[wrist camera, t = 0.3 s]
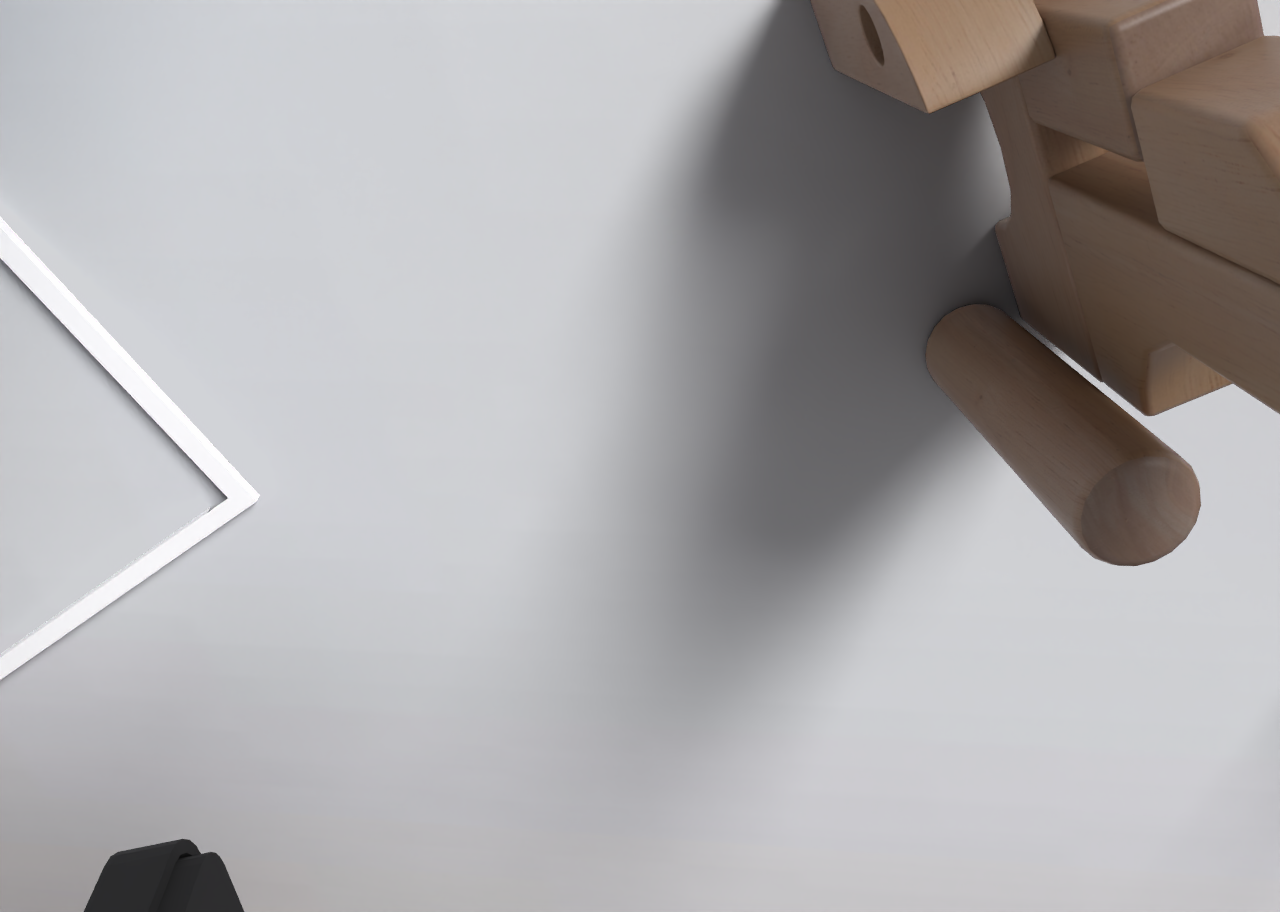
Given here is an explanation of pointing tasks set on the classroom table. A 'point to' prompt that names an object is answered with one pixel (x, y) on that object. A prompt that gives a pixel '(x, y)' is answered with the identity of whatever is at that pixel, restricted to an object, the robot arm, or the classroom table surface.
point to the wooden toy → (1102, 232)
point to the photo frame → (167, 416)
